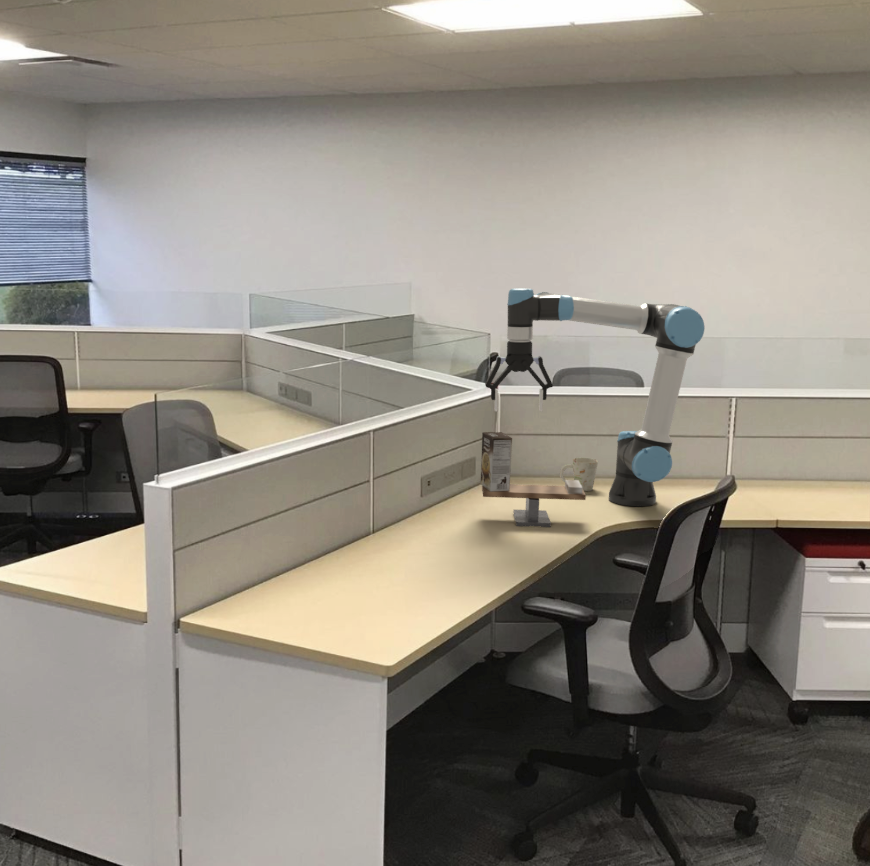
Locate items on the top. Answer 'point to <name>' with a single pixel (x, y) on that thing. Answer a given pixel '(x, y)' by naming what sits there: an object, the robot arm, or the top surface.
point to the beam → (541, 491)
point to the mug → (582, 472)
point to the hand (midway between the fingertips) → (518, 410)
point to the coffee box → (496, 461)
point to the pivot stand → (531, 515)
